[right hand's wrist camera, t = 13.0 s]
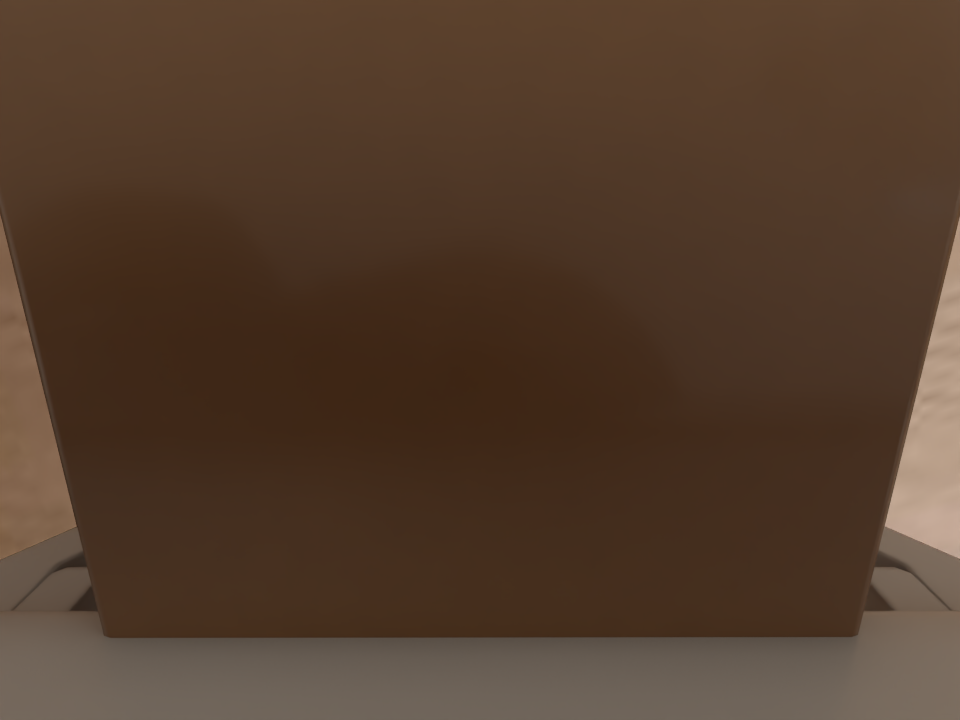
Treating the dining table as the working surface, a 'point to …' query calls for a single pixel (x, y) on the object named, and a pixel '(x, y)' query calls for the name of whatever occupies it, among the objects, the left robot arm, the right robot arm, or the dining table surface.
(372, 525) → the box
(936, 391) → the dining table surface
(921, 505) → the dining table surface
